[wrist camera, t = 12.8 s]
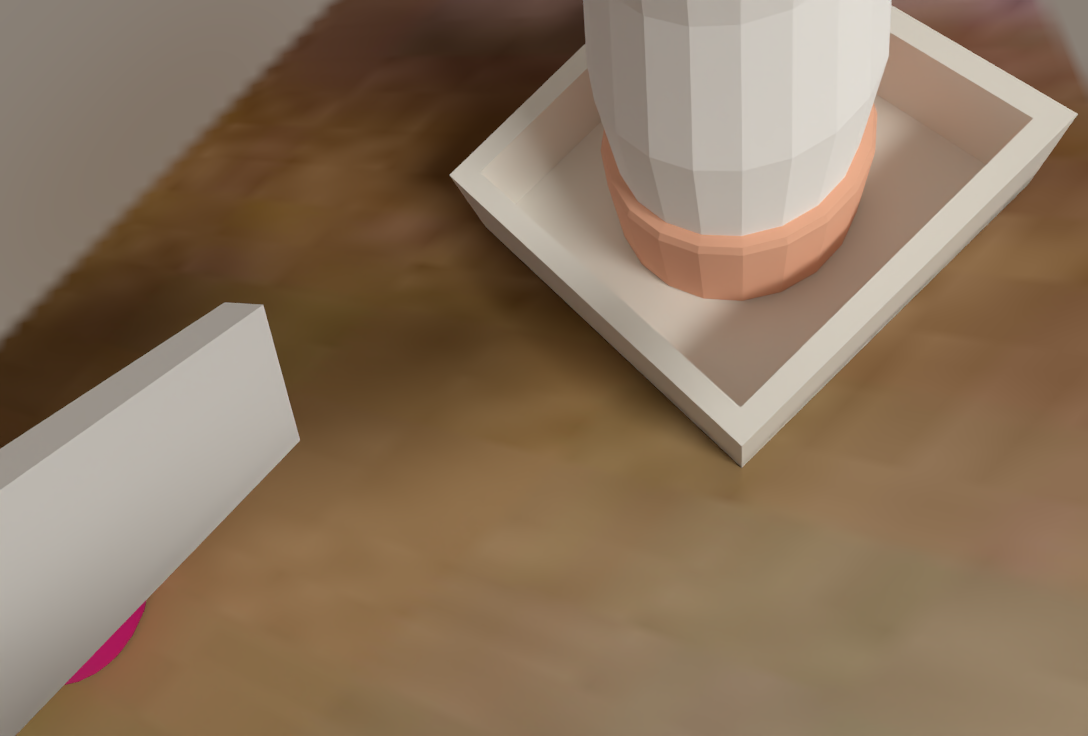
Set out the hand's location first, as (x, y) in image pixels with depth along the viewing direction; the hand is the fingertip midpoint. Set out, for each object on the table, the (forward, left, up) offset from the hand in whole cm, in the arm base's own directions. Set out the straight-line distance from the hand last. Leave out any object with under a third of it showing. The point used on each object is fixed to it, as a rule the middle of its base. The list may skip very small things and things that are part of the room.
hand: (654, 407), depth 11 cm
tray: (-6, +7, -11) cm, 15 cm away
